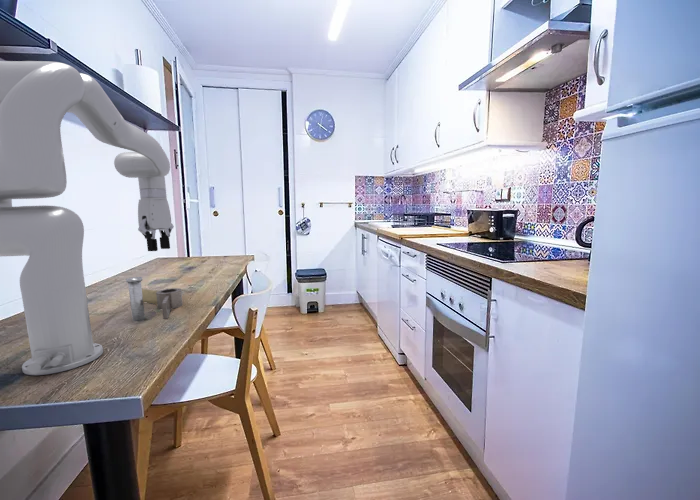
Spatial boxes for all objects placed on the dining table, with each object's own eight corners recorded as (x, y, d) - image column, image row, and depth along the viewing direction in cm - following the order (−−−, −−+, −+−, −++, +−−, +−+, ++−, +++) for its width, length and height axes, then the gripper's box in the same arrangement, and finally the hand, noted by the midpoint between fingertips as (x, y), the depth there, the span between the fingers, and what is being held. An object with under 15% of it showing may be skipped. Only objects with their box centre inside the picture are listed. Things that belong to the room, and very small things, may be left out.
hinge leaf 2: (179, 316, 94) (177, 299, 94) (151, 320, 92) (149, 303, 91) (183, 302, 110) (181, 287, 109) (159, 304, 107) (158, 289, 106)
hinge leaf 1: (164, 304, 107) (162, 291, 107) (161, 305, 106) (159, 291, 106) (144, 301, 112) (142, 288, 112) (141, 301, 111) (139, 288, 111)
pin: (145, 320, 92) (140, 278, 91) (129, 322, 91) (124, 280, 89) (147, 316, 96) (143, 276, 94) (132, 318, 94) (127, 277, 93)
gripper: (161, 196, 118) (166, 246, 120) (122, 194, 101) (128, 253, 103) (180, 195, 117) (185, 246, 119) (143, 193, 100) (150, 253, 102)
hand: (159, 249), depth 111 cm, fingers open, 5 cm apart
